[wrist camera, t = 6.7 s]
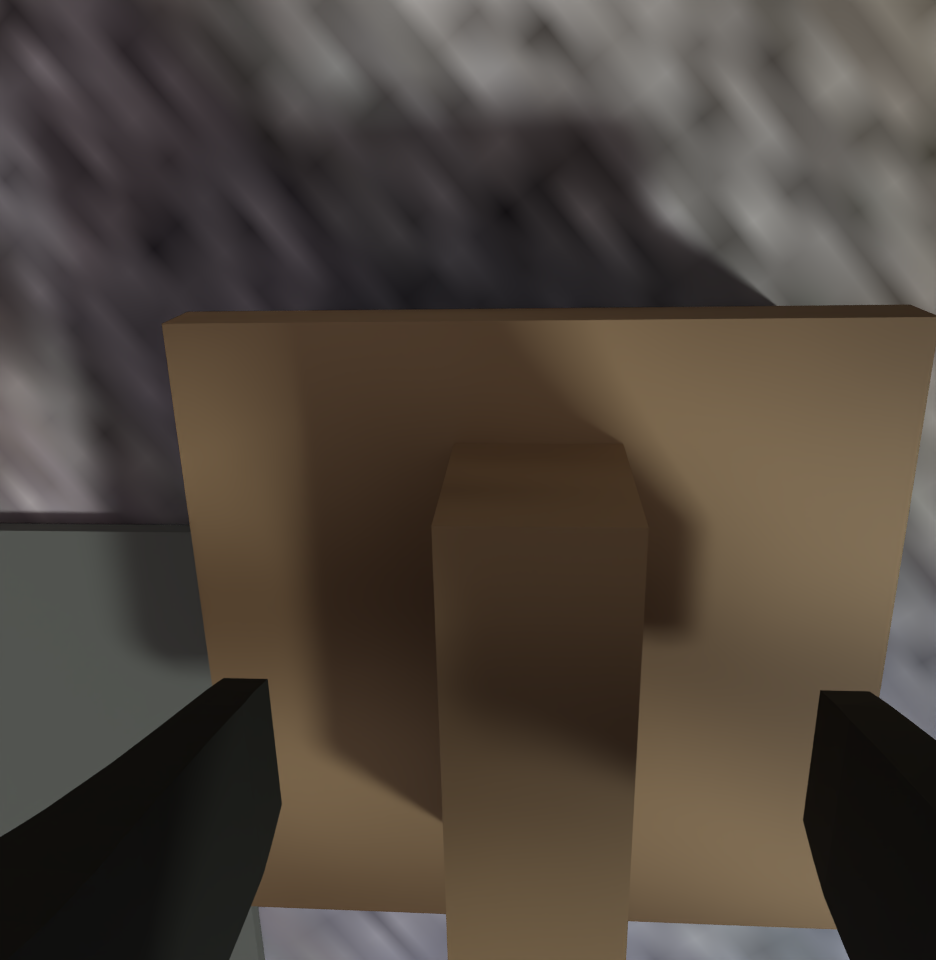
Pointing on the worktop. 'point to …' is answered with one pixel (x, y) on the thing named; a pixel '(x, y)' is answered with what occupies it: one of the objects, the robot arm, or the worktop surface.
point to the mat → (94, 657)
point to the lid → (549, 596)
